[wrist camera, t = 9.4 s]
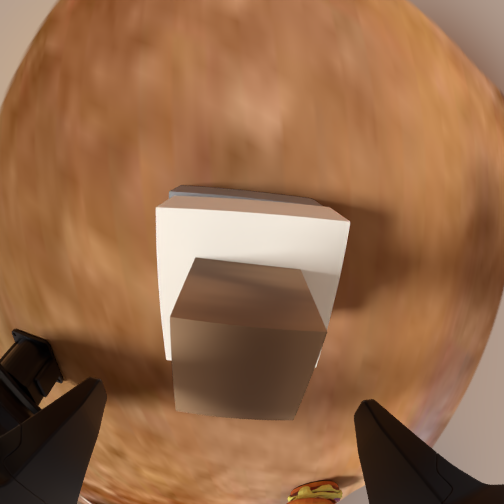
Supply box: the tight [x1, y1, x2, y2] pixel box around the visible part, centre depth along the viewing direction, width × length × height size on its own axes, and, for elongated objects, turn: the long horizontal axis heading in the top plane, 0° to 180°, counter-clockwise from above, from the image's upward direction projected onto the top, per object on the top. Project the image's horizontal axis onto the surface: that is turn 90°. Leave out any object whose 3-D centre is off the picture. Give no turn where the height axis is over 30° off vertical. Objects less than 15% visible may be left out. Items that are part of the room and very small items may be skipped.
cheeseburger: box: [287, 481, 342, 504], centre depth 33 cm, size 10×11×10 cm
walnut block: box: [170, 257, 327, 420], centre depth 12 cm, size 5×5×5 cm
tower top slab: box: [156, 195, 350, 368], centre depth 15 cm, size 9×9×4 cm
